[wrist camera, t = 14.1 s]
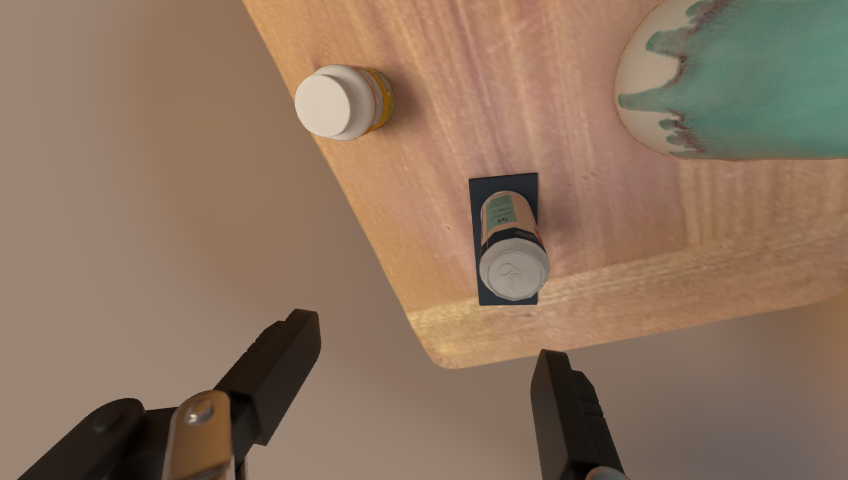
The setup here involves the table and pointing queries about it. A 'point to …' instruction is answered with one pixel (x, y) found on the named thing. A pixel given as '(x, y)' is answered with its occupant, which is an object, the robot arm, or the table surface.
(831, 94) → the vase
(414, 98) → the table surface
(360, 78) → the supplement bottle
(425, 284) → the table surface
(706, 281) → the table surface
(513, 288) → the beige cylinder
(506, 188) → the dark rectangular strip
